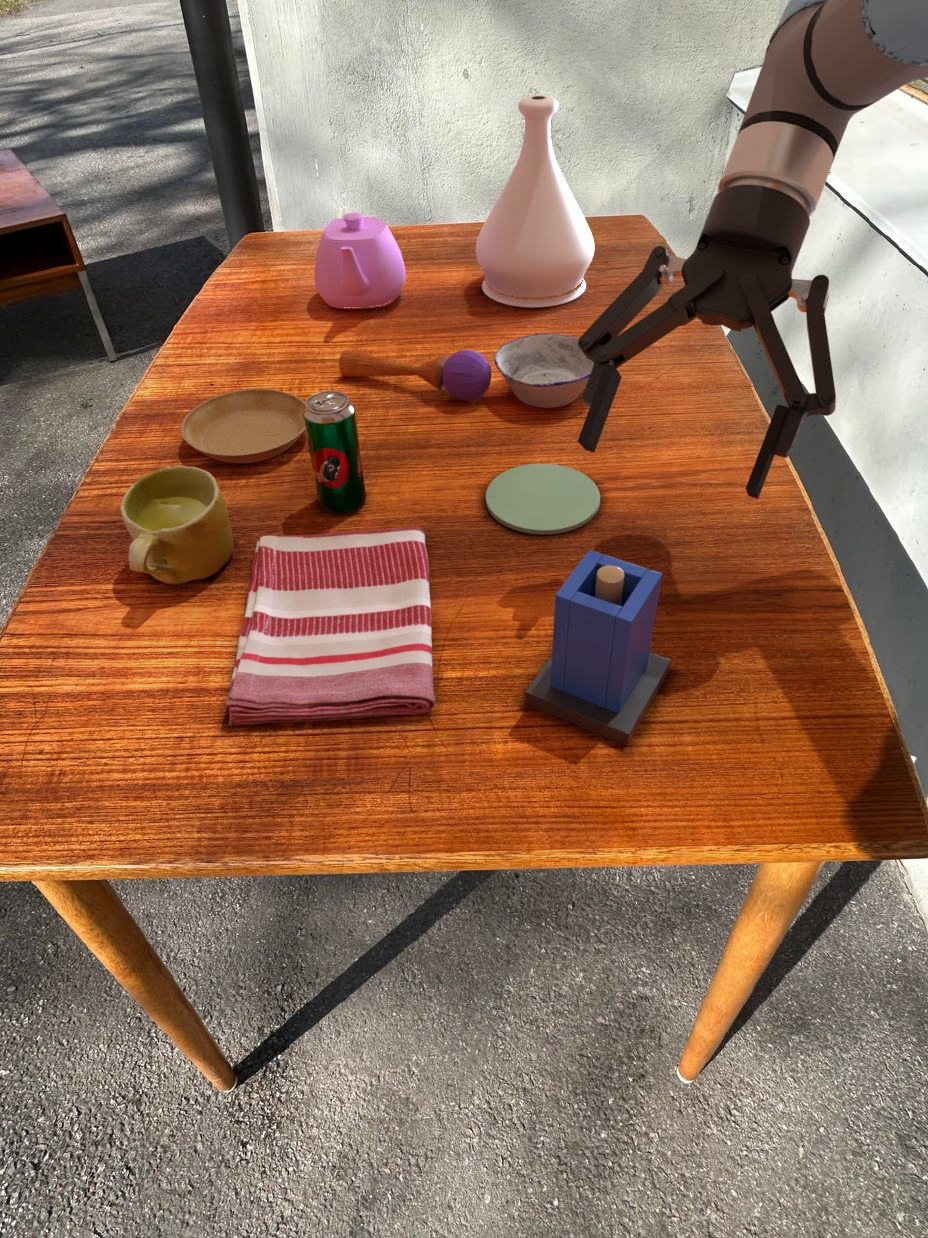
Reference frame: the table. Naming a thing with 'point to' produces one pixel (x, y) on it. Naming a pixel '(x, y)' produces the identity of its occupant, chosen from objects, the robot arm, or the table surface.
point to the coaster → (542, 499)
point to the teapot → (358, 263)
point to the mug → (177, 525)
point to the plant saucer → (245, 425)
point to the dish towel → (335, 629)
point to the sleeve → (603, 633)
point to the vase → (535, 224)
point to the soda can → (334, 451)
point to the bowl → (544, 369)
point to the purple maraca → (428, 371)
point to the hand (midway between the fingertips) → (665, 470)
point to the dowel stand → (589, 713)
